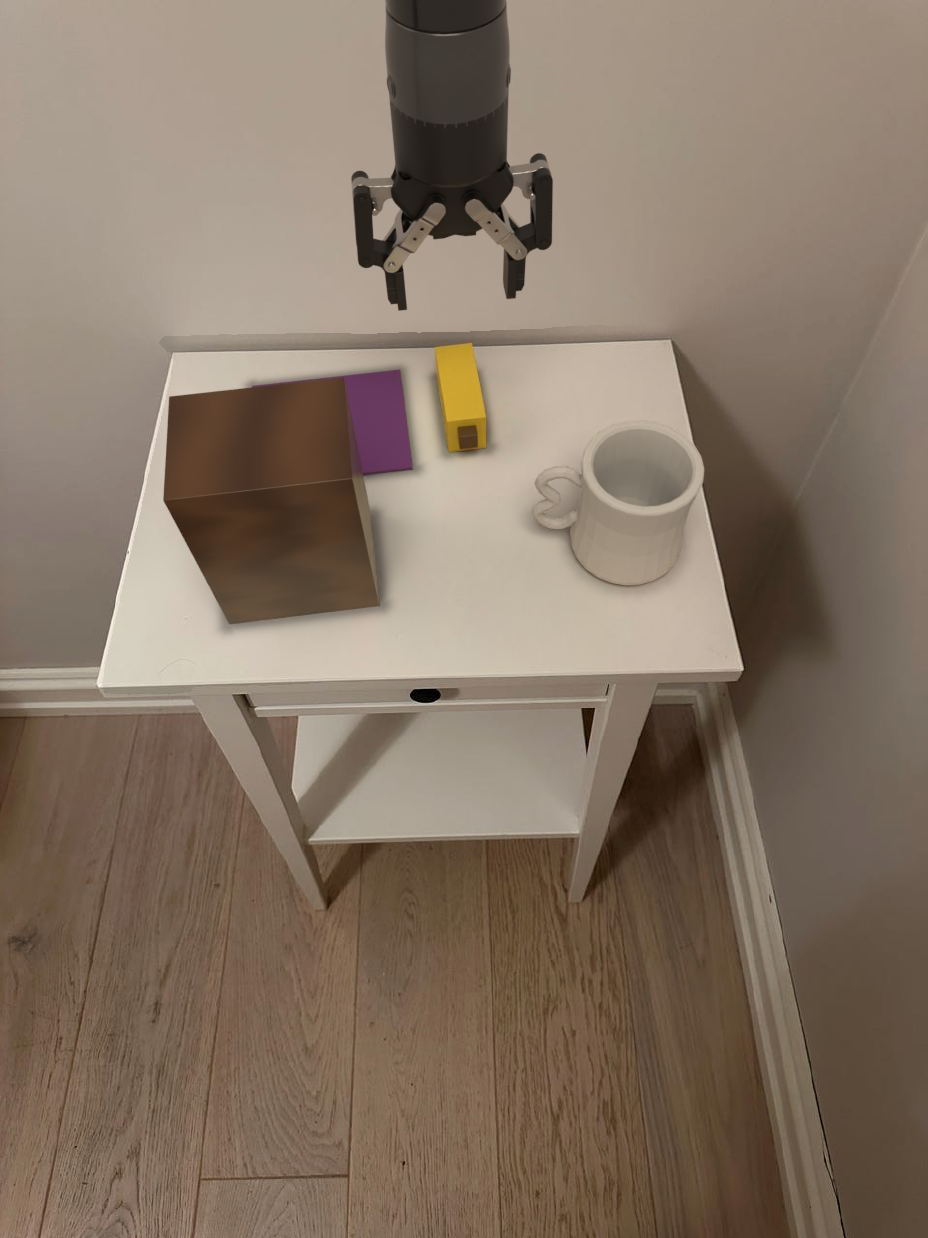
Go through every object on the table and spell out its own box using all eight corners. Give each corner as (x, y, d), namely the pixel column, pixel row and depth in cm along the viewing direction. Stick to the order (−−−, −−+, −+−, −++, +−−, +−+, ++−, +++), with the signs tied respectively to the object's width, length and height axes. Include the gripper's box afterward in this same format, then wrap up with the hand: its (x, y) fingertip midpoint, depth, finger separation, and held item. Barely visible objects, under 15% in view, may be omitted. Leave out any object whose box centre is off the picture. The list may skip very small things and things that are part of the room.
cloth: (253, 487, 75) (252, 485, 74) (252, 387, 81) (251, 385, 80) (412, 469, 75) (412, 467, 75) (400, 371, 81) (399, 369, 81)
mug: (677, 502, 73) (703, 420, 64) (681, 593, 68) (710, 518, 60) (532, 494, 74) (538, 412, 65) (526, 583, 69) (532, 509, 61)
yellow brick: (435, 373, 81) (433, 340, 78) (471, 369, 81) (470, 336, 78) (450, 462, 76) (448, 431, 72) (488, 458, 76) (488, 427, 72)
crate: (229, 624, 68) (162, 500, 54) (229, 532, 72) (168, 396, 59) (379, 605, 69) (352, 478, 55) (371, 515, 73) (344, 376, 59)
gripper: (550, 41, 56) (536, 257, 70) (331, 61, 55) (361, 275, 69) (572, 107, 52) (553, 321, 66) (337, 128, 51) (368, 340, 65)
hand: (455, 297), depth 67 cm, fingers open, 8 cm apart
